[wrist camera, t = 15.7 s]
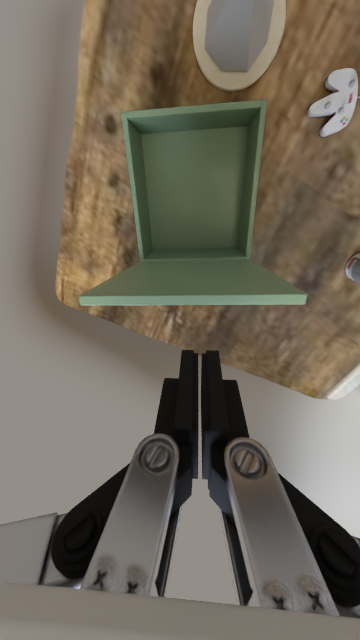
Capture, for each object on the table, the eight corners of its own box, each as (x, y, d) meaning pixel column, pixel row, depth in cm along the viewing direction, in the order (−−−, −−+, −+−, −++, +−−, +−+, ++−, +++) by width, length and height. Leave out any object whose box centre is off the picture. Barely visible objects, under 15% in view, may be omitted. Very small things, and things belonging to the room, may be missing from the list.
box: (137, 130, 29) (120, 111, 23) (252, 121, 28) (267, 98, 22) (150, 252, 37) (140, 263, 31) (241, 250, 36) (249, 261, 30)
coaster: (192, -38, 23) (192, -43, 22) (292, -52, 22) (295, -58, 21) (193, 95, 27) (193, 93, 27) (275, 88, 26) (277, 85, 26)
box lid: (78, 296, 15) (80, 305, 15) (307, 294, 14) (305, 304, 14) (139, 261, 31) (139, 266, 31) (250, 259, 29) (250, 264, 29)
